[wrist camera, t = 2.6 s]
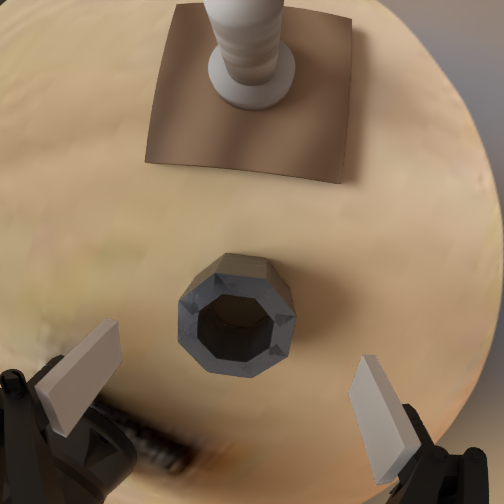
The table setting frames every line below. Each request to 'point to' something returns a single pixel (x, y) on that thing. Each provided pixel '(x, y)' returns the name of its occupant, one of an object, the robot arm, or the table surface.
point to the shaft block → (253, 90)
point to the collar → (236, 338)
